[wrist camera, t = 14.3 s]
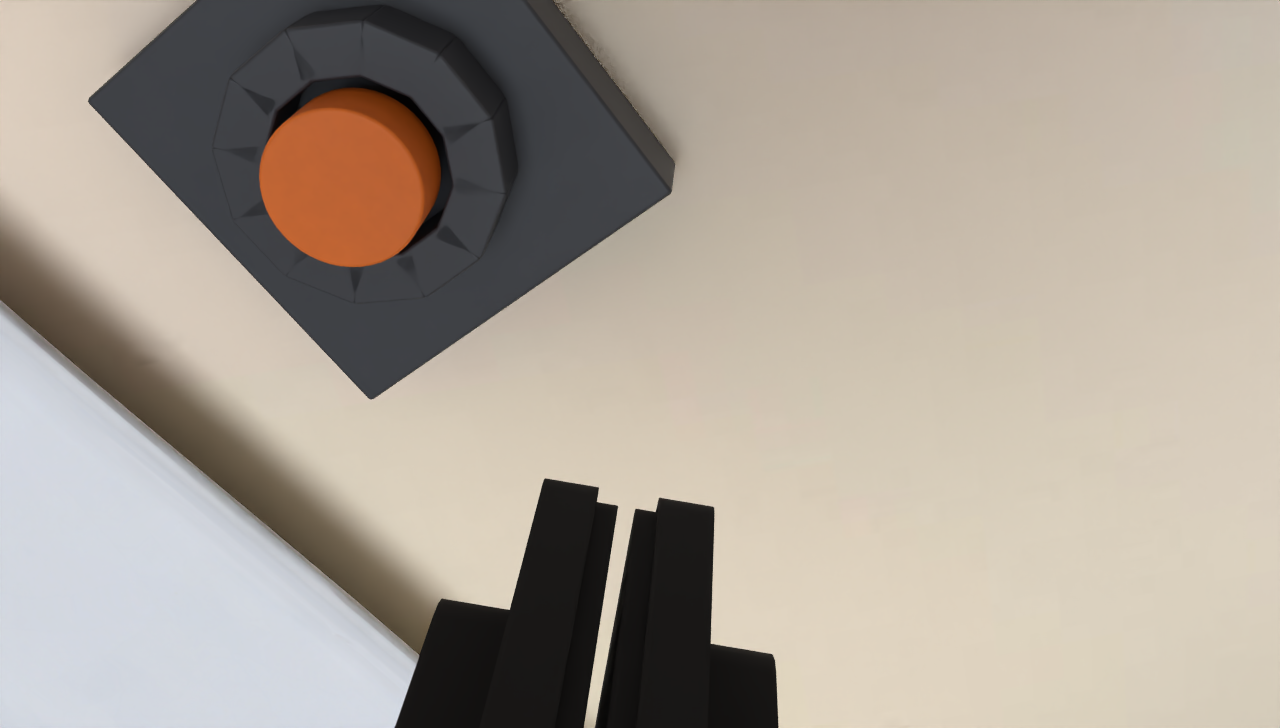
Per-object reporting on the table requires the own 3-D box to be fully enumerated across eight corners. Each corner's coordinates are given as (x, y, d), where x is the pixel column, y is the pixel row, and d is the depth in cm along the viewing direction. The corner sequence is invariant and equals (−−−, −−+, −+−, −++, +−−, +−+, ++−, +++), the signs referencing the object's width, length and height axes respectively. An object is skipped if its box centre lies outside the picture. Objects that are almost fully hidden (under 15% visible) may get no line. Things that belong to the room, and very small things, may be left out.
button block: (126, 78, 30) (45, 122, 26) (415, -183, 26) (368, -172, 23) (391, 364, 33) (350, 437, 30) (676, 164, 30) (669, 219, 26)
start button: (252, 147, 27) (223, 172, 25) (366, 54, 25) (343, 73, 24) (360, 267, 28) (338, 297, 26) (474, 182, 27) (458, 209, 25)
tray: (-109, 104, 31) (-203, 144, 27) (671, 798, 40) (666, 884, 37) (-398, 449, 36) (-502, 514, 33) (343, 981, 46) (316, 1069, 43)
